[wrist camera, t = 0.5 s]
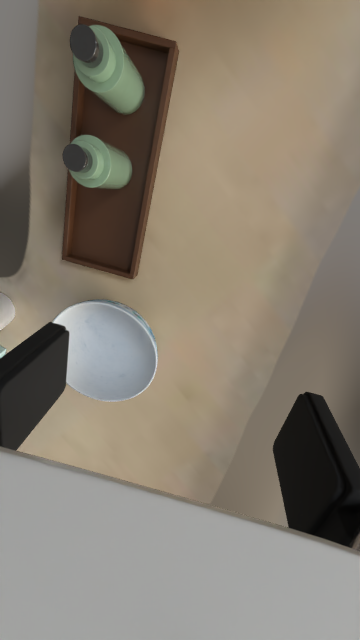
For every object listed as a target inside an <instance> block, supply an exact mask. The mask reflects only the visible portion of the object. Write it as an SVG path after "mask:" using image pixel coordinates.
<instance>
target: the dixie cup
mask: <svg viewBox="0 0 360 640" xmlns="http://www.w3.org/2000/svg"><path fill="white" fill-rule="evenodd" d="M14 317H15V308H14V305H13V303H12V301H11V300H10V299H9V298H8V297H7V296H6V295H5V294H3V293H1V292H0V330H1V329H3V328H4V327H5V326H6V325H7V324H9V323H10V322H11V321H12V320H13V319H14Z"/></svg>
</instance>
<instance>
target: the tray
mask: <svg viewBox="0 0 360 640" xmlns="http://www.w3.org/2000/svg"><path fill="white" fill-rule="evenodd" d="M80 24H84V25H87V26H92V25H101V26H104V27H106V28H108V29H110V30H111V31H112V32H113V33H114V34H115V35H116V37H117V38H118V40H119V41H120V43H121V44H122V46H123V48H124V49H125V51H126V52H127V54H128V55H129V57H130V58H131V60H132V62H133V63H134V65H135V66H136V68H137V69H138V71H139V73H140V74H141V76H142V78H143V81H144V87H145V93H144V99H143V102H142V104H141V106H140V107H139V108H138V109H137V110H136V111H135V112H134V113H132V114H128V115H123V114H119V113H117V112H116V111H114V110H113V109H112V108H111V107H109V106H108V105H107V104H106V103H105V102H103V101H102V100H101V99H100V98H99V97H97V96H96V95H95V94H94V93H93V92H91V91H90V90H89V89H88V88H87V87H85V86H84V85H83V83H82V82H81V81H80V79H79V78H78V76H77V74H76V71H75V76H74V91H73V105H72V120H71V135H70V144H71V142H72V141H73V140H74V139H75V138H77V137H78V136H81V135H92V136H95V137H97V138H99V139H101V140H103V141H105V142H107V143H109V144H111V145H113V146H115V147H117V148H119V149H121V150H123V151H124V152H125V153H126V154H127V155H128V157H129V159H130V161H131V164H132V176H131V179H130V181H129V183H128V184H127V185H126V186H125V187H123V188H121V189H117V190H114V189H101V188H89V187H85V186H83V185H81V184H79V183H78V182H77V181H76V180H75V179H74V178H73V177H72V175H71V173H70V171H69V169H68V179H67V193H66V208H65V223H64V237H63V252H62V260H66V261H69V262H73V263H77V264H80V265H84V266H87V267H91V268H94V269H98V270H102V271H105V272H109V273H112V274H116V275H120V276H123V277H127V278H130V279H134V278H135V277H136V276H137V274H138V268H139V263H140V258H141V252H142V247H143V241H144V236H145V231H146V225H147V220H148V215H149V209H150V204H151V199H152V193H153V188H154V182H155V177H156V172H157V166H158V161H159V156H160V150H161V145H162V140H163V134H164V129H165V123H166V118H167V113H168V107H169V102H170V97H171V91H172V86H173V81H174V75H175V70H176V65H177V59H178V54H179V49H178V46H177V42H176V41H172V40H168V39H164V38H160V37H157V36H153V35H149V34H145V33H141V32H137V31H134V30H130V29H126V28H122V27H118V26H114V25H111V24H107V23H103V22H99V21H95V20H92V19H88V18H84V17H80V16H79V18H78V25H80Z"/></svg>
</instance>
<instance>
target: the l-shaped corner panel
mask: <svg viewBox="0 0 360 640" xmlns="http://www.w3.org/2000/svg"><path fill="white" fill-rule="evenodd" d="M5 353H6V348H4V347H2V346H0V358H2V357H3V356H4V355H5Z"/></svg>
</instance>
